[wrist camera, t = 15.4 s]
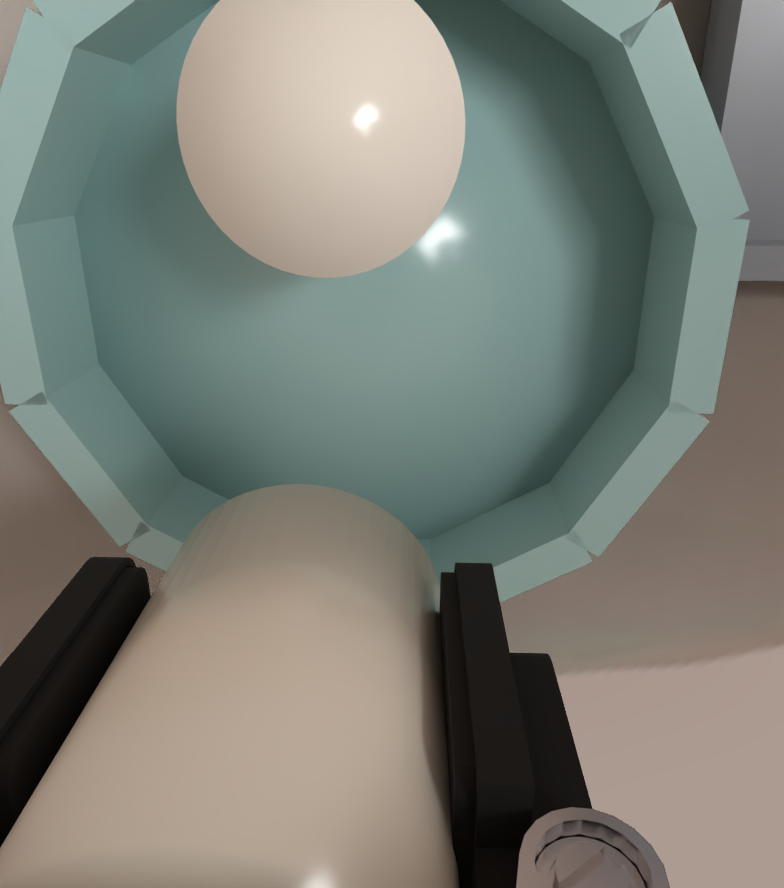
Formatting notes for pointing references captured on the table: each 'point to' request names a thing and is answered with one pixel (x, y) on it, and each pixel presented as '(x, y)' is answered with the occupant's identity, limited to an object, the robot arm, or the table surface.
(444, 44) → the cream egg
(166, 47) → the bowl
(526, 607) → the table surface
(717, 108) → the parts tray
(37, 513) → the table surface
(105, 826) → the pebble
